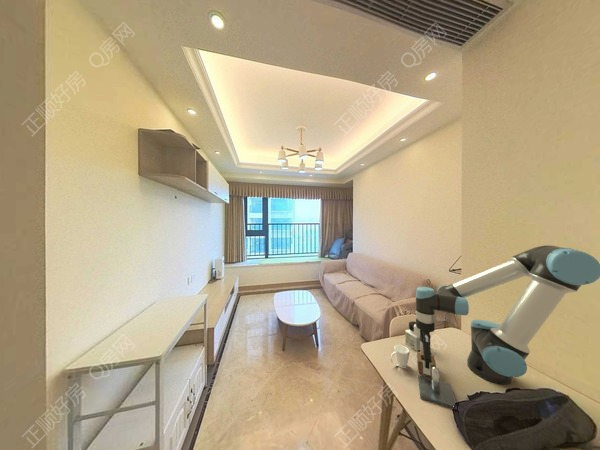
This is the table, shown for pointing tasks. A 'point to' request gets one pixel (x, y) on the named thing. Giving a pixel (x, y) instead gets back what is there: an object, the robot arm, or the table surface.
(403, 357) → the cup
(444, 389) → the post stand
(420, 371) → the collar
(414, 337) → the container
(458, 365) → the table surface
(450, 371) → the table surface
